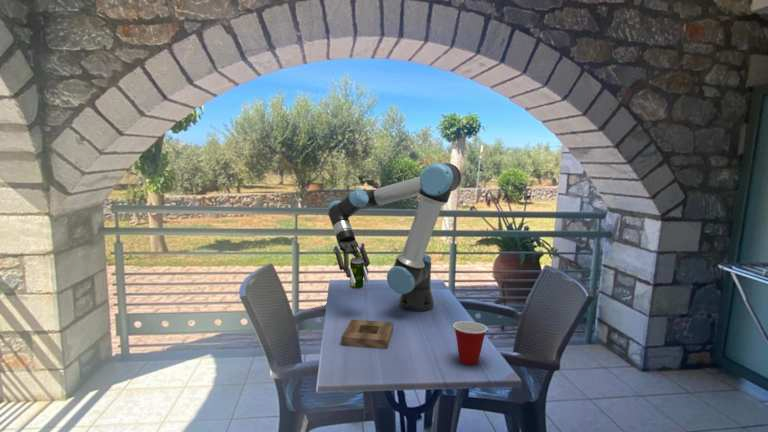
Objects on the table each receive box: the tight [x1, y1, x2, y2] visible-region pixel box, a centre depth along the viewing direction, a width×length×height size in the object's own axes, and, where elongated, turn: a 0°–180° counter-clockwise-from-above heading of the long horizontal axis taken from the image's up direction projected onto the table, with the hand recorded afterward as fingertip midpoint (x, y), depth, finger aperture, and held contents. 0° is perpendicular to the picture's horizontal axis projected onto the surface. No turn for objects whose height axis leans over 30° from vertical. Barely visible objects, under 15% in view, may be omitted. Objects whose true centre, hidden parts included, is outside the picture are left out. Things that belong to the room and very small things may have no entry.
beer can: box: [349, 257, 364, 291], centre depth 168 cm, size 5×5×12 cm
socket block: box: [340, 319, 394, 350], centre depth 151 cm, size 16×16×3 cm
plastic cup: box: [453, 320, 488, 366], centre depth 133 cm, size 11×11×12 cm
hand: (360, 282), depth 165 cm, fingers closed on beer can, 5 cm apart
